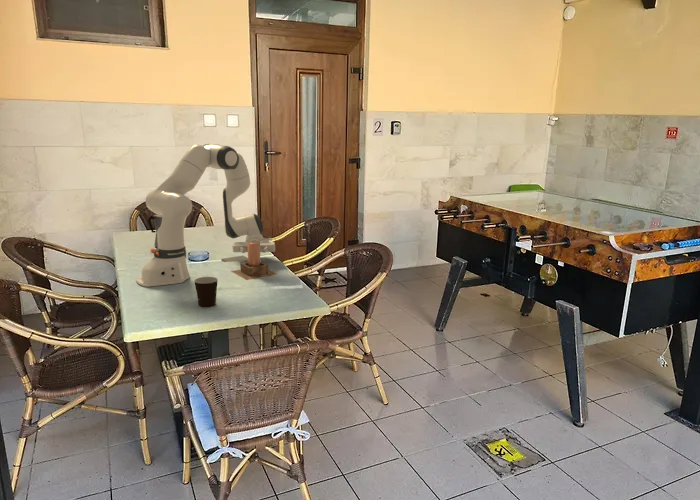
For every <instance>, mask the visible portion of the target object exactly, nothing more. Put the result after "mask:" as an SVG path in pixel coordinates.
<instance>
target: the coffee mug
mask: <svg viewBox="0 0 700 500" xmlns="http://www.w3.org/2000/svg"><path fill="white" fill-rule="evenodd" d="M194 287H195V292H196V299H197V303H198V307H200V308H205V309H207V308H211V307H215V306H216V305H217V304H216V303H217V294H218V293H217V291H218V278H217V277H215V276H202V277H197V278H195V279H194Z"/></svg>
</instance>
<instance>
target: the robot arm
mask: <svg viewBox="0 0 700 500" xmlns="http://www.w3.org/2000/svg"><path fill="white" fill-rule="evenodd" d="M177 163H178V164H176V167H175V168H174V169H173V171H172V173H171V174H170V175H169V176H168V177H167V178H166V179H165V180H164V181H163V182H162V183H161V184H160V185H159V186H158V187H157V188H155V189H153V190H151V191H149V192H148V194H147V195H146V197H145V205H146V207H147V209H148V210H150V211H151V212H152V213H154V214H155V215H157V214H159V215H162V223H161V226H160V228H159V229H158V230H157V238H158V247H156V249H155V247H154V248H150V253H151V254H153V257H152V258H151V259H150V260H149V261H148V262H147V263H145V264H144V265H143V266H142V268H141V275H140V276H138V277H136V278H135V279H136V283H137V284H139V285H140V286H142V287H145V288H146V287H148V288H149V287H150V288H151V287H158V286H165V285H174V284H182V283H184V282H185V281H186V280H189V279H190V277H191V276H190V275H191V274H190V272H189V269H188V263H187V249H186V246H185V225H186V221H187V218H188V216H189V215H190V214H191V213H192V210H193V202H192V200H191V198H190V197H188V196H186V194H188V192H191V191H192V190H194V189H195V187H196V186H197V184H198V182H199V181H200V179H201V178H202V177H203V175H204V172H205V170H206V169H207V168H213V169H214V170H215V169H216V170H223V171H224V175H225V180H226V184H225V188H224V189H223V190H222V202H223V204H222V205H223V214H224V232H225V235H226V236H227V237H228V238H231V239H237V238H240V237H242V236H246V237H245V241H237V242H234V243H233V244H232V253H242V254H246V253H248V242H260V253H264V254H265V253H271V252H272V253H273V252H274V253H275V252H276V243H275V242H274V240H273V238H272V237H267V236H263V233H264V228H263V227H264V226H263V222H262V219H261V217H260V216H259V215H257V214H256V213H250V214H246V215H242V216H238V217H235V216H233V208H232V207H233V205H232V204H233V201H235V200H236V199H237V198H239V197H240V196H242V195H243V194H244V193H246V192H247V191H248V189H249V188H250V186H251V178H250V173H249V169H248V166H247V164H246V160H245V159H244V157H243V155H241V154H240V153H237V150H235V148H233V147H231V146H229V145H222V144H217V143H215V144H214V143H213V144H212V143H211V144H210V143H206V144H203V145H201V144H194V145H192V146H191V147H190V148H189V149H188V150H187V151H186V152H185V153H184V155H183V156H182V158H180V161H179V162H177Z"/></svg>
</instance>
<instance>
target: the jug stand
mask: <svg viewBox="0 0 700 500" xmlns="http://www.w3.org/2000/svg"><path fill="white" fill-rule="evenodd" d="M230 272H232V273H233V274H235V275H237V276H238V277H240V278H242V279H244V280H246V281H248V280H255V279H260V278H265V277H270V276H271V277H272V276H275V275H276V276H277V275H278V273H277V272H276V271H273V270H271V269H269V264H267V263H265V262H263V261H261V260H260V266H255V267H249V266H248V261H246V262H241V263H240V269H237V270H230Z"/></svg>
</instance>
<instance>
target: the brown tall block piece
mask: <svg viewBox="0 0 700 500" xmlns="http://www.w3.org/2000/svg"><path fill="white" fill-rule="evenodd" d="M247 258H248V261H247V262H248V266H249V267H255V266H260V261H261V252H260V242H248V252H247Z"/></svg>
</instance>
